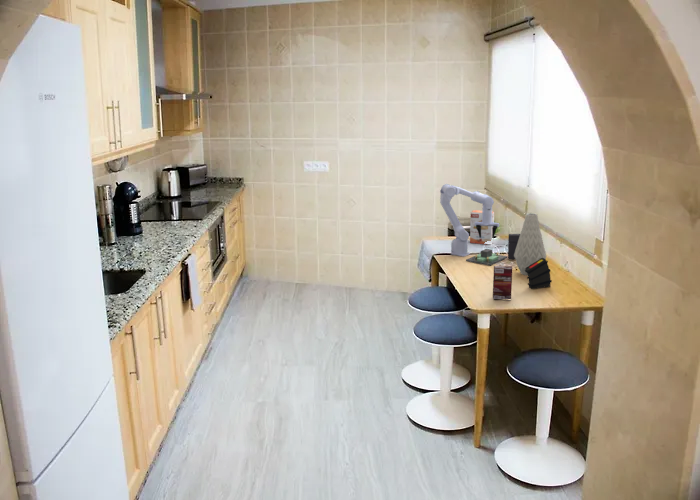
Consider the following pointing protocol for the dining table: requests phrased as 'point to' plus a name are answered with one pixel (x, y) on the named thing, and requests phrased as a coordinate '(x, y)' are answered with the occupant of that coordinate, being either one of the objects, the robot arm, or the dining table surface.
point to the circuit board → (486, 255)
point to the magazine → (538, 274)
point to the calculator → (512, 245)
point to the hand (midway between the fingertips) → (486, 237)
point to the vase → (529, 243)
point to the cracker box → (485, 230)
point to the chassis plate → (486, 262)
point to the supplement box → (502, 282)
